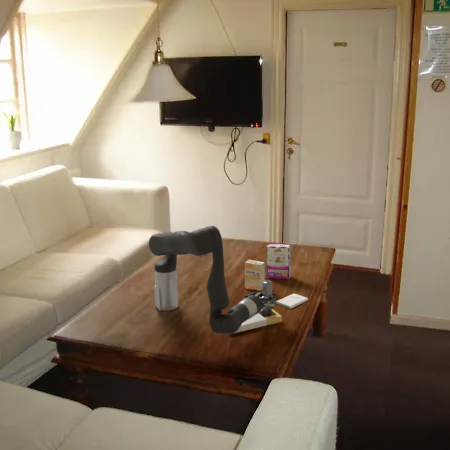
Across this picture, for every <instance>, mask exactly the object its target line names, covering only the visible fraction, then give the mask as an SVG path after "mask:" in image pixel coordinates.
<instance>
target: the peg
mask: <svg viewBox="0 0 450 450" xmlns="http://www.w3.org/2000/svg"><path fill="white" fill-rule="evenodd" d="M261 292H262V297H264V296H269V295H271V294H272V293H273V281H272V280H271V279H264V281H262V290H261ZM269 300H270V298H269ZM272 309H273V308H270V306H266V307H263V308H262V316H263V317H264V318H265V317H269V316H272Z"/></svg>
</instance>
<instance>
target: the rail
mask: <svg viewBox="0 0 450 450" xmlns="http://www.w3.org/2000/svg"><path fill="white" fill-rule="evenodd" d="M282 322H283V315H281V314H280V313H279V312H277V311H276V310H274V308H272V316H269V317H265V318H264V317H263V316H262V310H261V311H260V312H259V313H258V314H256V315H255V316H253V317H252V318H250V319H248V320H246V321H245V322H243V323H242V325H241V326H240V328H239V329H238V330H237V331H236V332H235V333H232V334H231V335H233V334H236V333H240V332H245V331H248V330H252V329H257V328H260V327H266V326H268V325H273V324H279V323H282Z"/></svg>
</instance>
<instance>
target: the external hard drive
mask: <svg viewBox="0 0 450 450" xmlns="http://www.w3.org/2000/svg"><path fill="white" fill-rule="evenodd" d="M308 301H309V298H308V297H306V296H303V295H300V294H297V293H292V294H290V295H287V296H285V297H283V298H281V299H278V300H276V303H275V305H277V306H278V305H279V306H281V307H284V308H287V309H290V310H291V309H293V308H295V307H297V306H299V305H301V304H303V303H305V302H308Z"/></svg>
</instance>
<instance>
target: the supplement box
mask: <svg viewBox="0 0 450 450" xmlns="http://www.w3.org/2000/svg"><path fill="white" fill-rule="evenodd" d="M265 270H266V269H265V262H264V261H260V260H254V259H248V260H246V261H245V262H244V289H245V290H246V289H247V290H252V291H256V292H257V291H258V292H262V281H264V280H265V279H266V278H265V277H266V276H265V273H266V271H265Z"/></svg>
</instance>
